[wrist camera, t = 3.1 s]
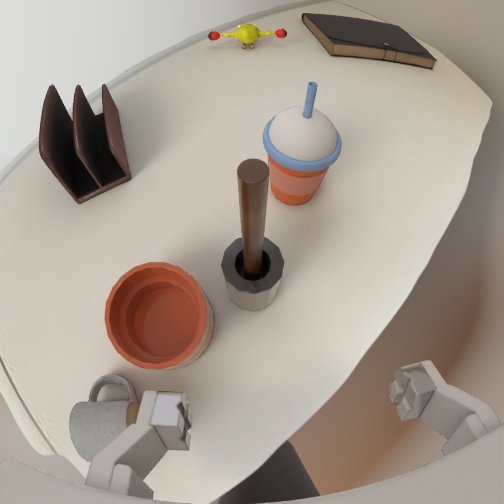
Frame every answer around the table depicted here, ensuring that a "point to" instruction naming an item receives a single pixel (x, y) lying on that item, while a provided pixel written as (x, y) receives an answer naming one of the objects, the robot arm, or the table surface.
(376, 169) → the table surface
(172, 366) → the bowl
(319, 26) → the black book
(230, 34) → the toy figure
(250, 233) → the stick
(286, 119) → the cup with straw
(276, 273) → the tube
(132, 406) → the ceramic mug
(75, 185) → the letter holder
